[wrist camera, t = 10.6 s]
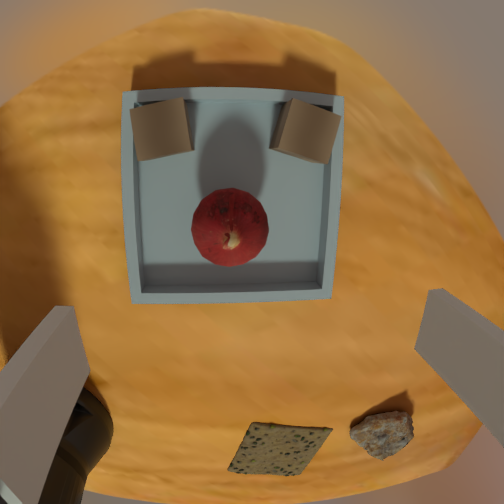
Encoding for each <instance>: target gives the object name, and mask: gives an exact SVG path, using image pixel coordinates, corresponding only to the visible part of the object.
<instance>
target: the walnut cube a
mask: <svg viewBox="0 0 504 504" xmlns="http://www.w3.org/2000/svg"><path fill="white" fill-rule="evenodd" d="M129 111H130V118H131V124H132V131H133V137H134V143H135V149H136V155H137V161H148V160H152V159H157V158H161V157H166V156H171V155H175V154H180V153H185V152H190V151H194V145H193V139H192V133H191V127H190V121H189V114H188V108H187V104H186V102H185V100H184V98H183V97H180V98H175V99H170V100H166V101H161V102H157V103H153V104H148V105H144V106H140V107H136V108H132V109H129Z"/></svg>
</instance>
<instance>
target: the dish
mask: <svg viewBox="0 0 504 504" xmlns="http://www.w3.org/2000/svg"><path fill="white" fill-rule="evenodd" d="M180 97H183V98H184V100H185V102H186V104H187V108H188V114H189V121H190V127H191V133H192V139H193V145H194V151H190V152H185V153H180V154H175V155H171V156H166V157H161V158H157V159H152V160H148V161H137V155H136V149H135V143H134V137H133V131H132V124H131V118H130V111H129V109H132V108H136V107H140V106H144V105H148V104H153V103H157V102H161V101H166V100H170V99H175V98H180ZM292 98H294V99H297V100H300V101H303V102H306V103H309V104H311V105H314V106H317V107H319V108H322V109H325V110H327V111H330V112H332V113H335V114H337V115H340V116H342V117H341V121H340V124H339V128H338V131H337V135H336V138H335V141H334V145H333V148H332V152H331V155H330V158H329V162H328V164H320V163H311V162H308V161H305V160H302V159H299V158H296V157H293V156H290V155H287V154H284V153H281V152H277V151H274V150H271V149H269V147H270V143H271V140H272V137H273V133H274V130H275V127H276V123H277V120H278V117H279V113H280V110H281V107H282V105H283V104H285V103H286V102H288V101H289V100H291V99H292ZM343 133H344V96H337V95H329V94H321V93H312V92H303V91H292V90H280V89H265V88H242V87H186V88H164V89H148V90H136V91H126V92H123V96H122V123H121V175H122V203H123V220H124V235H125V247H126V258H127V268H128V277H129V285H130V293H131V301H132V304H201V303H245V302H274V301H296V300H315V299H331V295H332V287H333V278H334V269H335V259H336V249H337V238H338V226H339V214H340V199H341V183H342V163H343ZM226 188H236V189H239V190H243V191H246V192H249V193H250V194H251V195H252V196H254V197H255V198H256V199H257V200H259V201H260V202H261V204H262V206H263V208H264V210H265V212H266V214H267V218H268V225H269V233H268V237H267V241H266V245H265V246H264V247H263V249H262V250H261V251H260V253H259V254H258V255H257V257H255V258H253V259H252V260H250V261H248V262H246V263H245V264H242V265H237V266H232V267H227V266H221V265H215V264H214V263H212V262H210V261H209V260H207V259H205V258H204V257H202V255H201V254H200V252H199V251H198V249H197V247H196V246H195V244H194V240H193V236H192V232H191V225H192V219H193V214H194V212H195V210H196V208H197V207H198V205H199V203H200V201H201V200H202V199H203V198H205V197H206V196H208V195H209V194H210V193H212V192H213V191H215V190H219V189H226Z"/></svg>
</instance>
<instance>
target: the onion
mask: <svg viewBox="0 0 504 504" xmlns="http://www.w3.org/2000/svg"><path fill="white" fill-rule="evenodd" d="M191 232H192V236H193V240H194V244H195V246H196V247H197V249H198V251H199V252H200V254H201V255H202V257H204V258H205V259H207V260H209V261H210V262H212V263H214V264H215V265H221V266H227V267H232V266H237V265H242V264H245V263H246V262H248V261H250V260H252V259H253V258H255V257H257V255H258V254H259V253H260V251H261V250H262V249H263V247H264V246H265V245H266V241H267V237H268V233H269V225H268V218H267V214H266V212H265V210H264V208H263V206H262V204H261V202H260V201H259V200H257V199H256V198H255V197H254V196H252V195H251V194H250V193H249V192H246V191H243V190H239V189H236V188H226V189H219V190H215V191H213V192H212V193H210V194H209V195H208V196H206V197H205V198H203V199H202V200H201V201H200V203H199V205H198V207H197V208H196V210H195V212H194V214H193V219H192V225H191Z"/></svg>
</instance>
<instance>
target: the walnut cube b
mask: <svg viewBox="0 0 504 504" xmlns="http://www.w3.org/2000/svg"><path fill="white" fill-rule="evenodd" d="M341 117H342V116H340V115H337V114H335V113H332V112H330V111H327V110H325V109H322V108H319V107H317V106H314V105H311V104H309V103H306V102H303V101H300V100H297V99H294V98H292V99H291V100H289V101H288V102H286V103H285V104H283V105H282V107H281V110H280V113H279V117H278V120H277V123H276V127H275V130H274V133H273V137H272V140H271V143H270V147H269V149H271V150H274V151H277V152H281V153H284V154H287V155H290V156H293V157H296V158H299V159H302V160H305V161H308V162H311V163H320V164H328V162H329V158H330V155H331V152H332V148H333V145H334V141H335V138H336V135H337V131H338V128H339V124H340V121H341Z"/></svg>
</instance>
